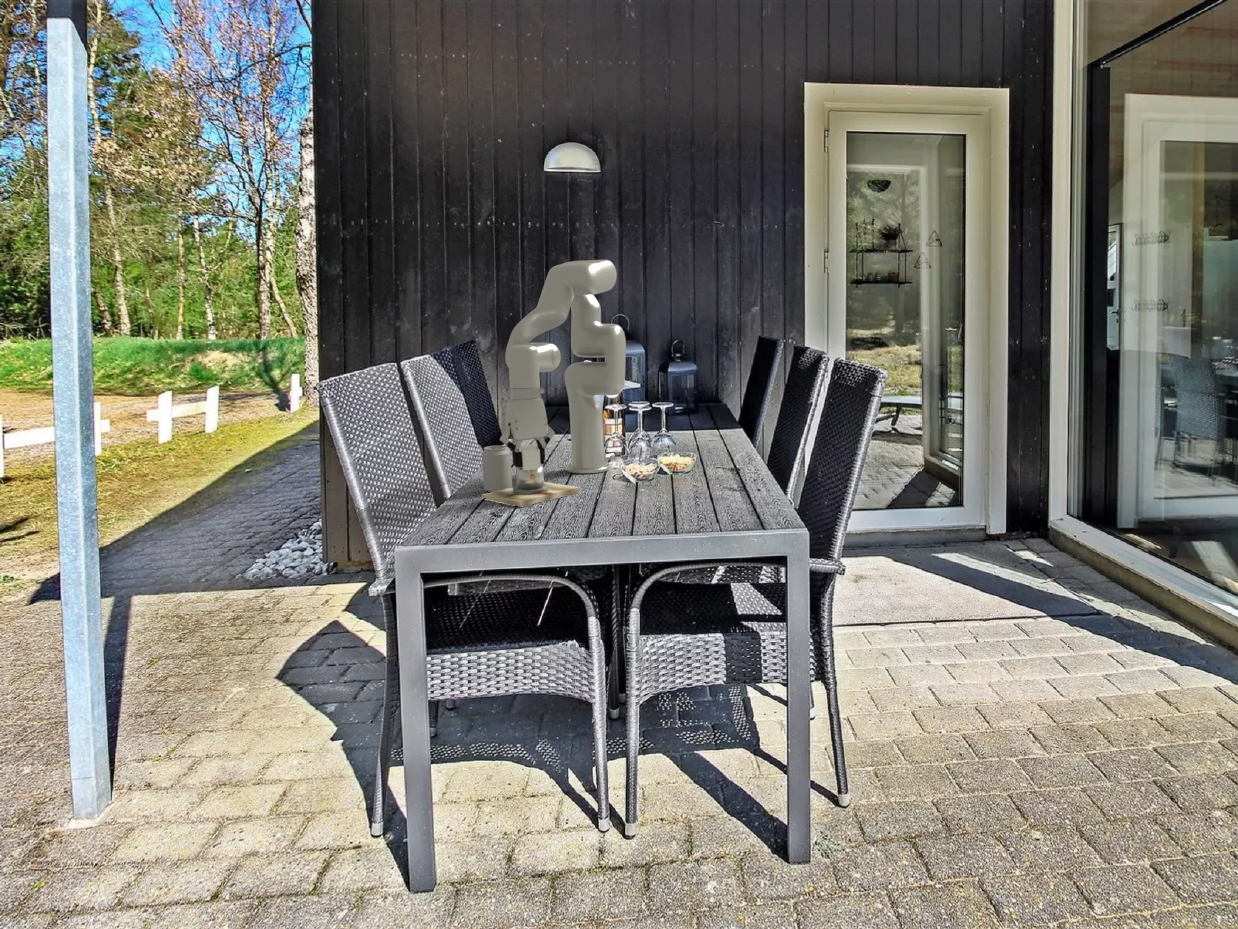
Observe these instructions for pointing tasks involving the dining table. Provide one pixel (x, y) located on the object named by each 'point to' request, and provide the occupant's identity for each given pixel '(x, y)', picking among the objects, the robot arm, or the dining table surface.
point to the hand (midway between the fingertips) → (529, 464)
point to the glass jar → (530, 468)
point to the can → (496, 468)
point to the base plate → (531, 494)
